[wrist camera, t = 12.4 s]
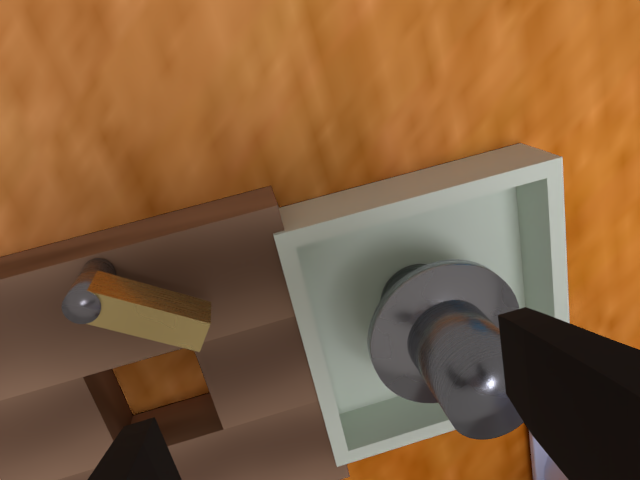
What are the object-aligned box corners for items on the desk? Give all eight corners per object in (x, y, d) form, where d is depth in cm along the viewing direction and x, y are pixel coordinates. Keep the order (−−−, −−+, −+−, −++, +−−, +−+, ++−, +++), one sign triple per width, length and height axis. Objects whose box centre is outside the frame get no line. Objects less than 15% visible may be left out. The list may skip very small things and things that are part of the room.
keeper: (211, 289, 18) (210, 325, 15) (202, 315, 18) (199, 353, 16) (87, 254, 16) (66, 287, 14) (78, 282, 17) (57, 318, 14)
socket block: (337, 434, 24) (349, 476, 22) (71, 516, 23) (55, 569, 21) (270, 186, 19) (277, 205, 17) (-64, 274, 18) (-105, 307, 16)
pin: (487, 331, 23) (586, 435, 17) (366, 374, 22) (423, 496, 16) (469, 214, 21) (576, 288, 15) (334, 259, 20) (387, 354, 14)
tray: (536, 357, 24) (572, 392, 22) (324, 421, 24) (337, 467, 21) (520, 142, 21) (562, 156, 18) (266, 211, 20) (273, 235, 17)
